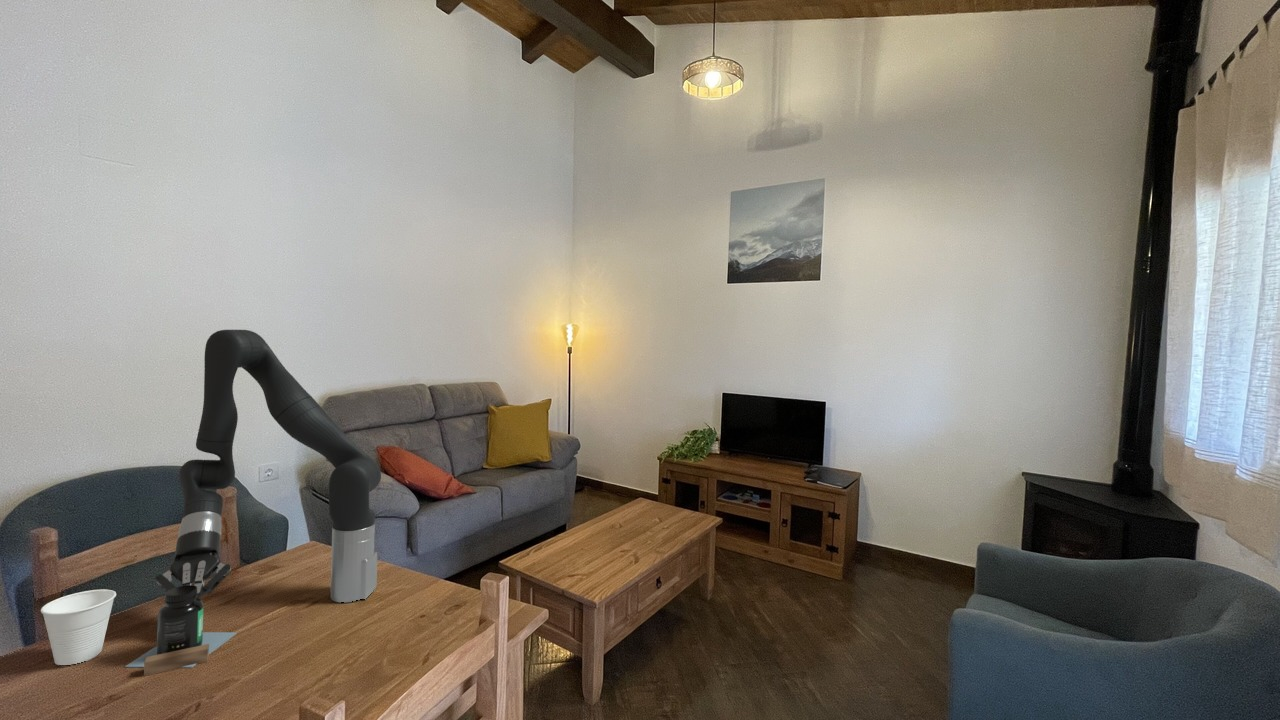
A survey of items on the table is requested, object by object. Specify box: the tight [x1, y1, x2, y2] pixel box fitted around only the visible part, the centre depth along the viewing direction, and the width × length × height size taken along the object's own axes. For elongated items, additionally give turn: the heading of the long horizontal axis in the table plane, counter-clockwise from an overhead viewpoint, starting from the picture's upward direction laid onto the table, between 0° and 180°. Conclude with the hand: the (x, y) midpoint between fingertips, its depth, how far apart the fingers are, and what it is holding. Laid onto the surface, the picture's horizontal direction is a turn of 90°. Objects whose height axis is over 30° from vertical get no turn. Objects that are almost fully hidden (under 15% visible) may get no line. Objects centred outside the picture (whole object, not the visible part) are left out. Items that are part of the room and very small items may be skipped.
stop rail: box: [143, 644, 210, 677], centre depth 99 cm, size 9×2×2 cm, turn 123°
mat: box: [124, 631, 238, 669], centre depth 105 cm, size 12×12×1 cm
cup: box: [40, 588, 117, 666], centre depth 101 cm, size 10×10×11 cm
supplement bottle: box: [156, 584, 204, 655], centre depth 104 cm, size 7×7×12 cm
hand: (189, 615), depth 108 cm, fingers closed
